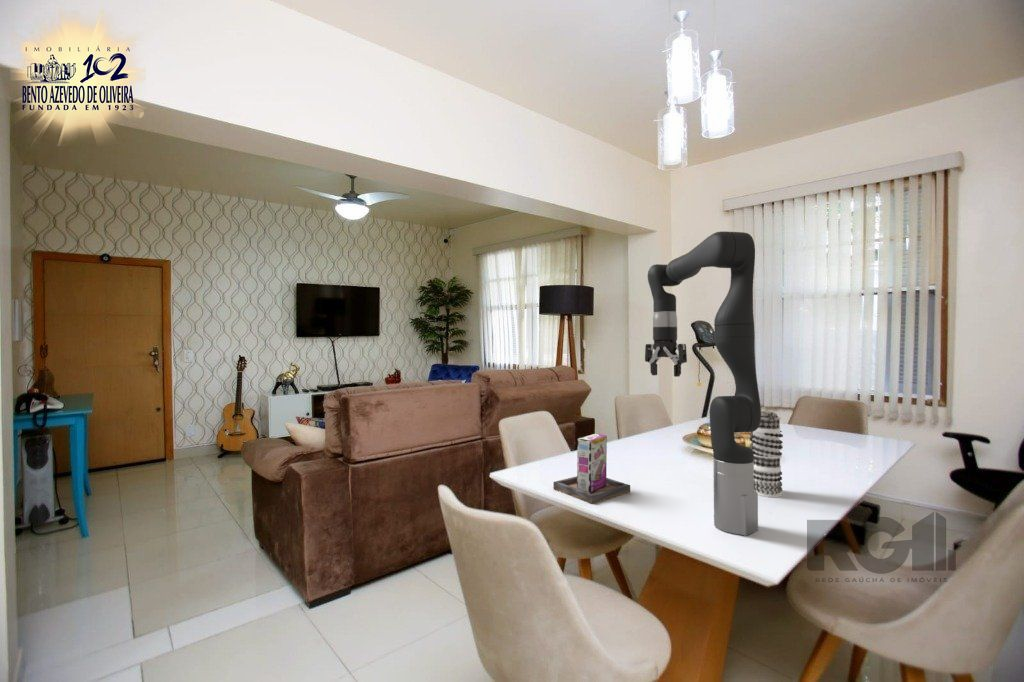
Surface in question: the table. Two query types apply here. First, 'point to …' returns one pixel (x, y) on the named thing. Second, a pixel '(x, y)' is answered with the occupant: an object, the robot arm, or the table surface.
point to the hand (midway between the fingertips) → (665, 375)
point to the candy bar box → (591, 462)
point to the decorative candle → (767, 455)
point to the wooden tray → (601, 494)
